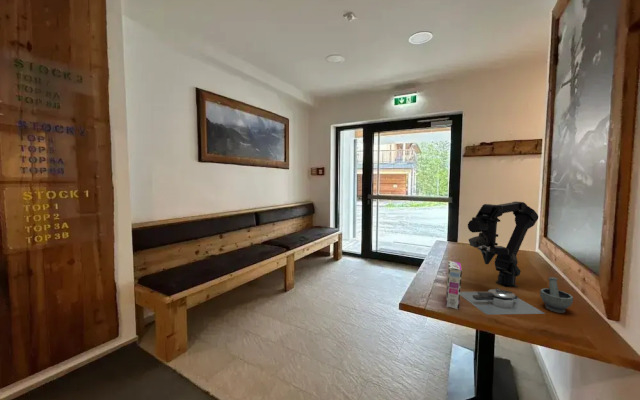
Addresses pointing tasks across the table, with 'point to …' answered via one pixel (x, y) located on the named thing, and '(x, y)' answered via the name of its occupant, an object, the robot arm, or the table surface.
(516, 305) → the slate board
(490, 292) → the lid
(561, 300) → the mortar and pestle
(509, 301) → the cooker pot
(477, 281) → the table surface
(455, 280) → the candy bar box
